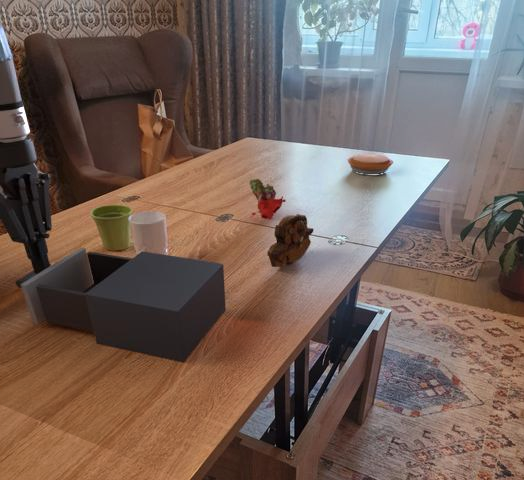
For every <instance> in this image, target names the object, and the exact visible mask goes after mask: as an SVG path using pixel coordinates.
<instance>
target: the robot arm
mask: <svg viewBox="0 0 524 480" xmlns="http://www.w3.org/2000/svg"><path fill="white" fill-rule="evenodd" d="M13 58H14V55H13V52H12V51H11V48H10V45H9V42H8V38H7V35H6V32H5V30H4V27H3V25H2V24H1V23H0V222H1V223H2V226H3V227H4V229H5V230H6V232H7V235H8V236H9V238H10V239H11V241H12V242H13V243H18V244H23V247H24V250H25V254H26V257H27V259H28V260H30V263H31V265H32V269H33V270H34V273H35V274H39V273H40V272H42V271H43V270H45V269H47V268H48V267H50V264H51V263H50V260H49V255H48V254H49V249H48V248H49V247H48V244H47V240H46V239H49V238H50V235H51V234H50V233H48V232H51V231H52V229H53V225H52V224H53V223H52V212H51V199H50V182H51V174H49V173H46V172H41V171H40V170H39V168H38V167H37V165H36V164H35V163H36V161H38V157H37V152H36V149H35V145H34V140H33V138H31V136H29V134H30V133H31V129H30V126H29V122H28V118H27V114H26V110H25V106H24V102H23V99H22V96H21V92H20V87H19V82H18V78H17V73H16V69H15V64H14V59H13Z"/></svg>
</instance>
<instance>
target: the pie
mask: <svg viewBox="0 0 524 480" xmlns="http://www.w3.org/2000/svg"><path fill="white" fill-rule="evenodd" d="M347 162H348V164H349V166H350V168H351V170H352V172H353V171H355V172H358V173H363V174H381V173H384V172H385V173H386V172H387V171H388V170H389V169H390V167H391V166H392V165H393V164H394V160H393V159H391V158H389V156H387V155H383V154H377V153H358V154H355V155H352V156H350V157H349V158H348V159H347ZM385 173H384V174H385Z"/></svg>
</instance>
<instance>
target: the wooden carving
mask: <svg viewBox="0 0 524 480" xmlns="http://www.w3.org/2000/svg"><path fill="white" fill-rule="evenodd" d="M313 233H314V228H313V227H308V218H307V216H306V215H304V214H299V213H297V214H296V215H295V214H287V215H286V216H284V217H283V218H282V219H281V220H280V221H279V223H278V224H276V225H275V226H274V238H275V239H276V241H275V242H274V243H273V244H271V245H270V246H269V248H268V250H267V254H266V255H267V257H268V259H269V261H270V265H271V267H273V268H283V267H284V266H285V264H286V263H295V262H298V261H299V260H300V259H301V258H302V257H303V256H305V254H306V253H307V251H308V249H309V248H310V246H311V244H312V241H311V239H310V236H311V235H312V234H313Z"/></svg>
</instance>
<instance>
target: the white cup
mask: <svg viewBox="0 0 524 480" xmlns="http://www.w3.org/2000/svg"><path fill="white" fill-rule="evenodd" d="M166 216H167V215H166V214H164V213H163V212H161V211H156V210H145V211H138V212H135V213H133V214H131V216H130V217H129V218H128V220H129V224H130V235H131V238H132V242H133V247H134V249H135V253H136V255H138V254H139V253H140V252H142V251H143V252H150V253H156V254H163V255H169V254H168V248H169V245H168V229H167V218H166Z"/></svg>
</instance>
